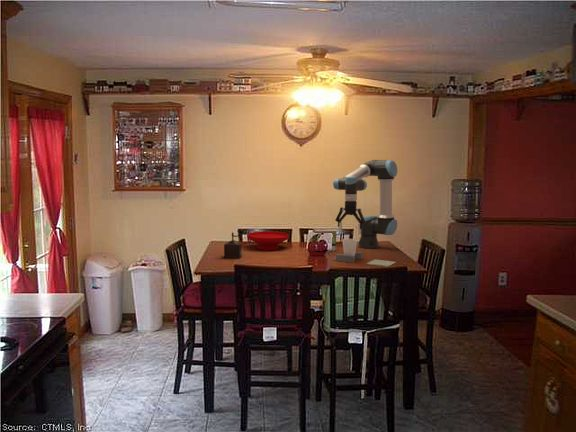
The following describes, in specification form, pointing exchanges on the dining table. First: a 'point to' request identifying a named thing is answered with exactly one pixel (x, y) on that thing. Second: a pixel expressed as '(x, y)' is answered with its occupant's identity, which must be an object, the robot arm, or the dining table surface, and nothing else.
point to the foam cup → (349, 246)
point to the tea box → (328, 232)
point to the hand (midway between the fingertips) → (349, 233)
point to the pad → (381, 263)
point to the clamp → (348, 257)
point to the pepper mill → (233, 247)
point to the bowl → (268, 239)
